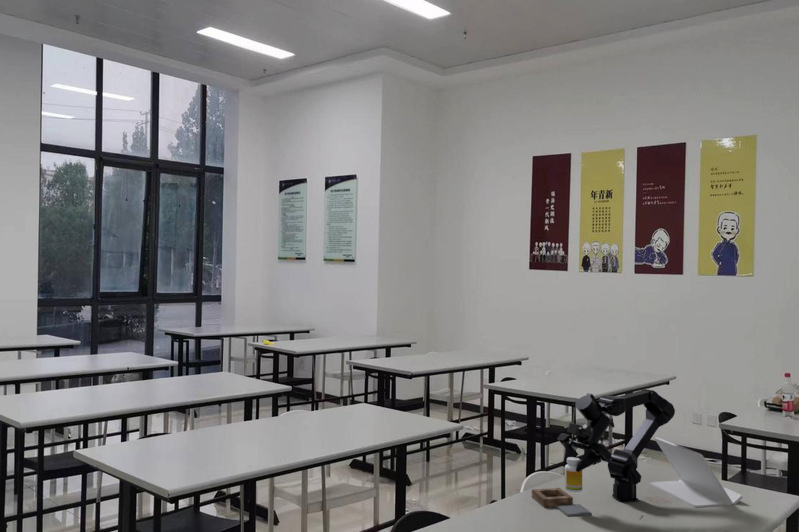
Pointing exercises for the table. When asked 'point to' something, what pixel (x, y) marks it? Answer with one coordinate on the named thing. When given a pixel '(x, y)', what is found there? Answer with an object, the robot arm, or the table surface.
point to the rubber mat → (574, 510)
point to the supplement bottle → (573, 475)
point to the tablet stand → (693, 479)
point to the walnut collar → (552, 497)
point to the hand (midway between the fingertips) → (570, 468)
